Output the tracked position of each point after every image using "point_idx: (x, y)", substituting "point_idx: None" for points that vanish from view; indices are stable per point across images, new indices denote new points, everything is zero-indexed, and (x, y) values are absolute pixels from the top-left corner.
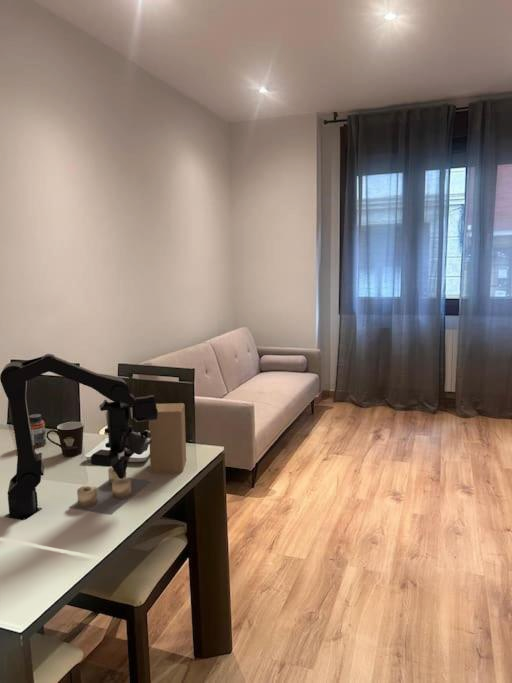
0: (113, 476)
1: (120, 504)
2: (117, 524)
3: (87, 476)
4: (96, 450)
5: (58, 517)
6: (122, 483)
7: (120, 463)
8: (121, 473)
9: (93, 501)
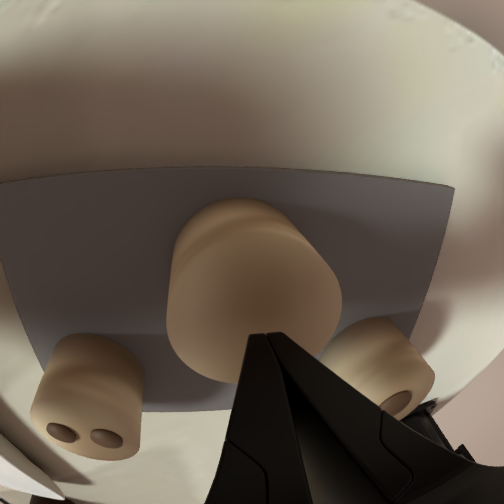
0: (137, 412)
1: (366, 194)
2: (485, 127)
3: (119, 461)
4: (14, 482)
5: (428, 360)
6: (301, 289)
7: (479, 468)
8: (326, 374)
9: (395, 331)
